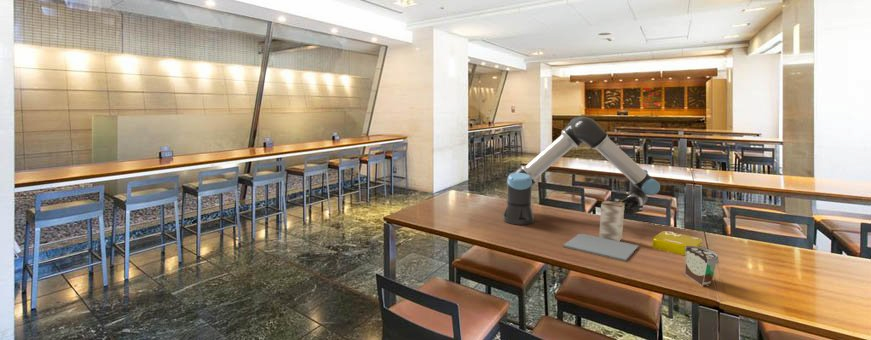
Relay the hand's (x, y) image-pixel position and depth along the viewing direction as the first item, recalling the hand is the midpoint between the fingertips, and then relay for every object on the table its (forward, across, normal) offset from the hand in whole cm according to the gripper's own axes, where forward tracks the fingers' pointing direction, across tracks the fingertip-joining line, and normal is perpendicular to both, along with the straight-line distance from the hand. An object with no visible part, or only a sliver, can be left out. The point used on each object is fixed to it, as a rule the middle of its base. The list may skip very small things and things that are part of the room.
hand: (618, 213), depth 174 cm
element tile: (+3, -24, -10) cm, 26 cm away
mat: (+22, 0, -9) cm, 23 cm away
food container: (+32, -36, -10) cm, 49 cm away
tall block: (+9, 0, -9) cm, 13 cm away
